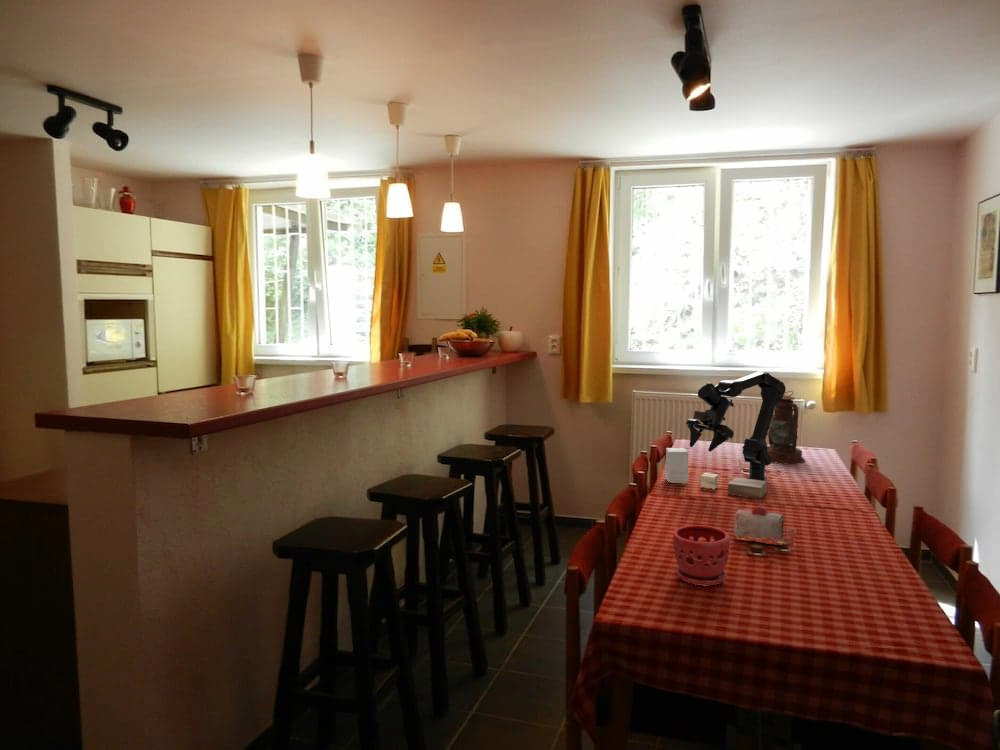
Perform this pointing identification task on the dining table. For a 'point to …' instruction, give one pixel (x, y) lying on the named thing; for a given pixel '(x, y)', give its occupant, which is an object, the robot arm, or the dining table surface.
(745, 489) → the beige flat block
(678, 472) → the supplement box
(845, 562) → the dining table surface
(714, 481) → the birch cube
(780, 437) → the lantern
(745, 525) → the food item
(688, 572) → the plant pot
